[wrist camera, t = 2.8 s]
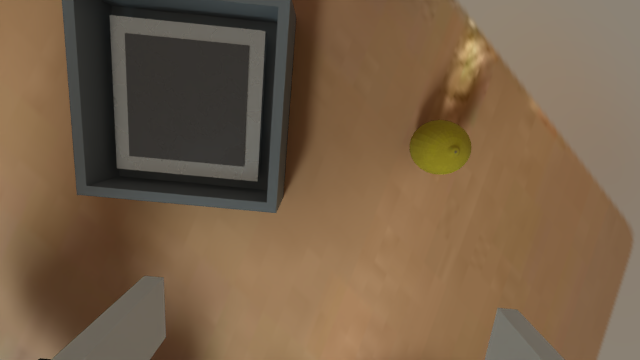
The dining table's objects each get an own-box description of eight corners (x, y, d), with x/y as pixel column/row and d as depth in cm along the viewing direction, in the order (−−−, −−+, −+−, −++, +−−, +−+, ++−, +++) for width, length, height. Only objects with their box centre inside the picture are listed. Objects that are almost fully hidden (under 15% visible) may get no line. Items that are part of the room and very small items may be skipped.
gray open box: (283, 197, 36) (275, 214, 30) (116, 181, 36) (72, 196, 30) (296, 14, 32) (290, -12, 26) (107, -6, 32) (53, -36, 25)
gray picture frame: (259, 179, 33) (257, 181, 32) (122, 166, 33) (115, 168, 32) (267, 33, 30) (265, 30, 29) (116, 18, 30) (108, 14, 29)
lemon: (423, 176, 36) (452, 193, 28) (391, 144, 35) (412, 152, 27) (459, 142, 35) (499, 150, 27) (427, 109, 34) (458, 107, 26)
